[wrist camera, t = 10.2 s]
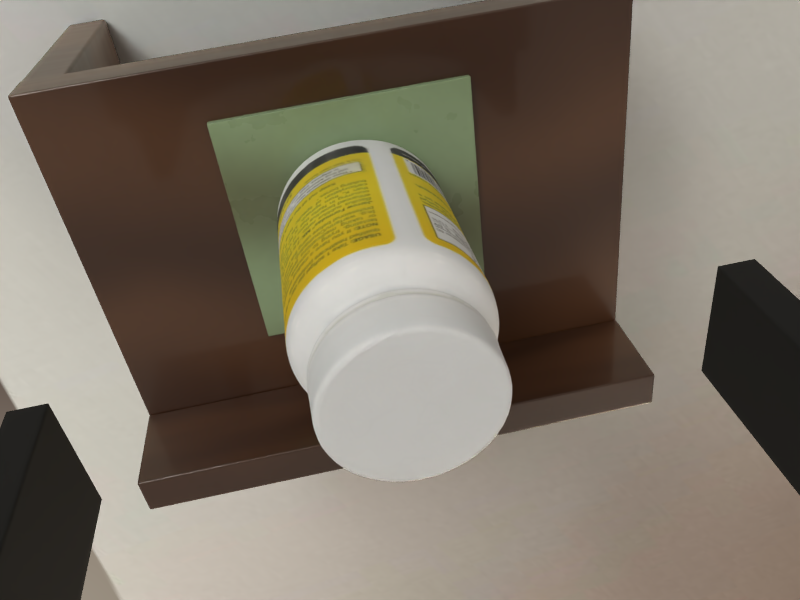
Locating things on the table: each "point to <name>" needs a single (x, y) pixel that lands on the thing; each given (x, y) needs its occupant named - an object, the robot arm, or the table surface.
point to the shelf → (277, 161)
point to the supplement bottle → (388, 315)
